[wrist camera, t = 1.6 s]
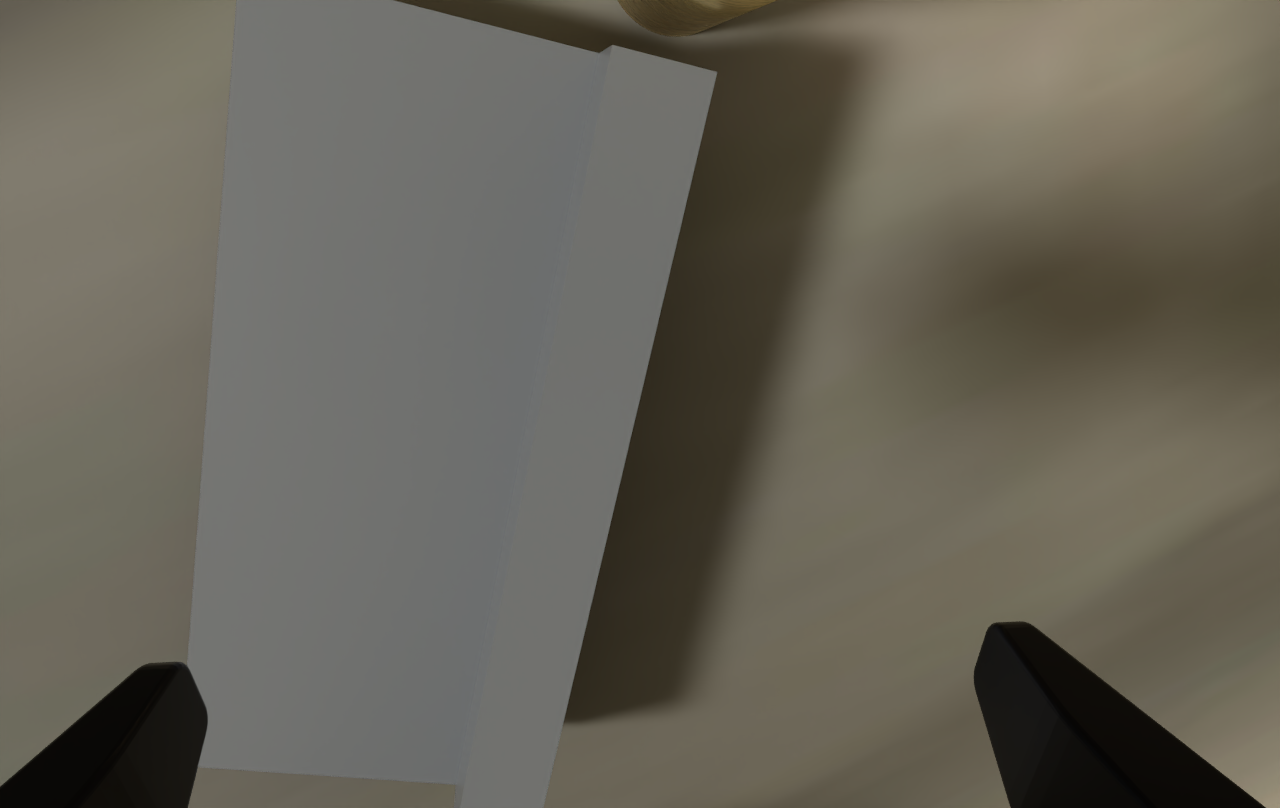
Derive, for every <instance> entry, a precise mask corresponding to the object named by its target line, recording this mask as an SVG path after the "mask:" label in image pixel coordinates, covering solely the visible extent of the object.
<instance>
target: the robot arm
mask: <svg viewBox="0 0 1280 808" xmlns="http://www.w3.org/2000/svg"><path fill="white" fill-rule="evenodd" d="M974 685H975V690H976V694H977V697H978V701H979V704H980V707H981V711H982V714H983V717H984V721H985V724H986V727H987V731H988V734H989V737H990V741H991V744H992V747H993V751H994V754H995V757H996V761H997V764H998V768H999V771H1000V774H1001V778H1002V781H1003V784H1004V788H1005V791H1006V794H1007V798H1008V801H1009V804H1010V807H1011V808H1266V807H1264V806H1263V805H1262V804H1260V803H1259V802H1258V801H1257V800H1255V799H1254V798H1253V797H1252V796H1250V795H1249V794H1248V793H1246V792H1245V791H1244V790H1243V789H1241V788H1240V787H1239V786H1237V785H1236V784H1235V783H1234V782H1232V781H1231V780H1230V779H1229V778H1227V777H1226V776H1225V775H1223V774H1222V773H1221V772H1220V771H1218V770H1217V769H1216V768H1215V767H1213V766H1212V765H1211V764H1209V763H1208V762H1207V761H1206V760H1204V759H1203V758H1202V757H1200V756H1199V755H1198V754H1197V753H1195V752H1194V751H1193V750H1192V749H1190V748H1189V747H1188V746H1186V745H1185V744H1184V743H1183V742H1181V741H1180V740H1179V739H1177V738H1176V737H1175V736H1174V735H1172V734H1171V733H1170V732H1169V731H1167V730H1166V729H1165V728H1163V727H1162V726H1161V725H1160V724H1158V723H1157V722H1156V721H1154V720H1153V719H1152V718H1151V717H1149V716H1148V715H1147V714H1146V713H1144V712H1143V711H1142V710H1140V709H1139V708H1138V707H1137V706H1135V705H1134V704H1133V703H1132V702H1130V701H1129V700H1128V699H1126V698H1125V697H1124V696H1123V695H1121V694H1120V693H1119V692H1117V691H1116V690H1115V689H1114V688H1112V687H1111V686H1110V685H1109V684H1107V683H1106V682H1105V681H1103V680H1102V679H1101V678H1100V677H1098V676H1097V675H1096V674H1094V673H1093V672H1092V671H1091V670H1089V669H1088V668H1087V667H1086V666H1084V665H1083V664H1082V663H1080V662H1079V661H1078V660H1077V659H1075V658H1074V657H1073V656H1071V655H1070V654H1069V653H1068V652H1066V651H1065V650H1064V649H1063V648H1061V647H1060V646H1059V645H1057V644H1056V643H1055V642H1054V641H1052V640H1051V639H1050V638H1049V637H1047V636H1046V635H1045V634H1043V633H1042V632H1041V631H1040V630H1038V629H1037V628H1036V627H1034V626H1033V625H1031V624H1029V623H1027V622H1020V621H1019V622H998V623H993V624H992V625H991V626H990V627H989V628H988V629H987V632H986V635H985V638H984V641H983V644H982V647H981V650H980V653H979V656H978V659H977V663H976V666H975V670H974ZM207 726H208V713H207V709H206V706H205V703H204V701H203V699H202V696H201V694H200V692H199V690H198V687H197V685H196V683H195V680H194V678H193V676H192V674H191V671H190V669H189V668H188V666H186V665H185V664H184V663H182V662H162V663H149V664H145V665H143V666H141V667H140V668H138V669H137V670H135V671H134V672H133V673H132V674H131V675H129V676H128V677H127V678H126V679H125V680H124V681H123V682H121V683H120V684H119V685H118V686H117V687H116V688H114V689H113V690H112V691H111V692H110V693H109V694H107V695H106V696H105V697H104V698H103V699H102V700H100V701H99V702H98V703H97V704H96V705H95V706H93V707H92V708H91V709H90V710H89V711H88V712H86V713H85V714H84V715H83V716H82V717H81V718H79V719H78V720H77V721H76V722H75V723H74V724H72V725H71V726H70V727H69V728H68V729H67V730H66V731H64V732H63V733H62V734H61V735H60V736H59V737H57V738H56V739H55V740H54V741H53V742H52V743H50V744H49V745H48V746H47V747H46V748H45V749H43V750H42V751H41V752H40V753H39V754H38V755H36V756H35V757H34V758H33V759H32V760H31V761H29V762H28V763H27V764H26V765H25V766H24V767H22V768H21V769H20V770H19V771H18V772H17V773H16V774H14V775H13V776H12V777H11V778H10V779H9V780H7V781H6V782H5V783H4V784H3V785H2V786H0V808H188V805H189V801H190V797H191V793H192V789H193V784H194V780H195V776H196V772H197V768H198V764H199V760H200V756H201V752H202V748H203V744H204V740H205V736H206V732H207Z"/></svg>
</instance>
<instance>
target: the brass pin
mask: <svg viewBox="0 0 1280 808" xmlns="http://www.w3.org/2000/svg"><path fill="white" fill-rule="evenodd" d="M774 1H777V0H618V2H619V3H620V5H621V6H622V8H623V9H624V10H625V12H626V13H627V14H628V15H629V16H630V17H631V18H632V19H633V20H634V21H635V22H637V23H638V24H639V25H641V26H642V27H644V28H646V29H648V30H650V31H652V32H654V33H657V34H660V35H665V36H674V37H680V36H688V35H692V34H696V33H698V32H701V31H703V30H706V29H708V28H710V27H713V26H715V25H718V24H720V23H723V22H725V21H728V20H730V19H733V18H735V17H737V16H740V15H742V14H745V13H747V12H750V11H752V10H755V9H757V8H760V7H762V6H764V5H767V4H769V3H772V2H774Z"/></svg>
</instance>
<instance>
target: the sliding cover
mask: <svg viewBox="0 0 1280 808" xmlns="http://www.w3.org/2000/svg"><path fill="white" fill-rule="evenodd" d="M716 76H717V72H715V71H712V70H708V69H704V68H700V67H696V66H692V65H688V64H685V63H681V62H677V61H673V60H669V59H665V58H662V57H658V56H654V55H650V54H646V53H642V52H638V51H635V50H631V49H627V48H623V47H619V46H615V45H611V46H610V47H608V48H607V49H605V50H603V51H602V52H600V53H596V52H593V51H589V50H585V49H581V48H577V47H573V46H569V45H565V44H561V43H558V42H554V41H550V40H546V39H542V38H538V37H534V36H530V35H526V34H523V33H519V32H515V31H511V30H507V29H503V28H499V27H495V26H491V25H488V24H484V23H480V22H476V21H472V20H468V19H464V18H460V17H456V16H453V15H449V14H445V13H441V12H437V11H433V10H429V9H425V8H421V7H418V6H414V5H410V4H406V3H402V2H398V1H394V0H236V13H235V26H234V40H233V53H232V67H231V80H230V94H229V107H228V121H227V134H226V148H225V161H224V175H223V189H222V202H221V216H220V229H219V243H218V256H217V270H216V283H215V297H214V310H213V324H212V337H211V351H210V364H209V378H208V391H207V405H206V419H205V432H204V446H203V459H202V473H201V486H200V500H199V513H198V527H197V540H196V554H195V567H194V581H193V594H192V608H191V621H190V635H189V649H188V662H187V666H188V668H189V669H190V671H191V674H192V676H193V678H194V680H195V683H196V685H197V687H198V690H199V692H200V694H201V696H202V699H203V701H204V703H205V706H206V709H207V713H208V726H207V732H206V736H205V740H204V744H203V748H202V752H201V756H200V760H199V764H198V767H203V768H217V769H232V770H247V771H262V772H276V773H291V774H306V775H321V776H336V777H350V778H365V779H380V780H395V781H410V782H424V783H439V784H454V785H456V790H455V802H454V808H543V807H544V803H545V798H546V794H547V790H548V786H549V781H550V777H551V773H552V769H553V764H554V760H555V756H556V752H557V748H558V743H559V739H560V735H561V731H562V726H563V722H564V718H565V714H566V710H567V705H568V701H569V697H570V693H571V688H572V684H573V680H574V676H575V672H576V667H577V663H578V659H579V655H580V650H581V646H582V642H583V638H584V633H585V629H586V625H587V621H588V617H589V612H590V608H591V604H592V600H593V595H594V591H595V587H596V583H597V579H598V574H599V570H600V566H601V562H602V557H603V553H604V549H605V545H606V541H607V536H608V532H609V528H610V524H611V519H612V515H613V511H614V507H615V502H616V498H617V494H618V490H619V486H620V481H621V477H622V473H623V469H624V464H625V460H626V456H627V452H628V448H629V443H630V439H631V435H632V431H633V426H634V422H635V418H636V414H637V410H638V405H639V401H640V397H641V393H642V388H643V384H644V380H645V376H646V371H647V367H648V363H649V359H650V355H651V350H652V346H653V342H654V338H655V333H656V329H657V325H658V321H659V317H660V312H661V308H662V304H663V300H664V295H665V291H666V287H667V283H668V279H669V274H670V270H671V266H672V262H673V257H674V253H675V249H676V245H677V240H678V236H679V232H680V228H681V224H682V219H683V215H684V211H685V207H686V202H687V198H688V194H689V190H690V186H691V181H692V177H693V173H694V169H695V164H696V160H697V156H698V152H699V148H700V143H701V139H702V135H703V131H704V126H705V122H706V118H707V114H708V109H709V105H710V101H711V97H712V93H713V88H714V84H715V80H716Z"/></svg>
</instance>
